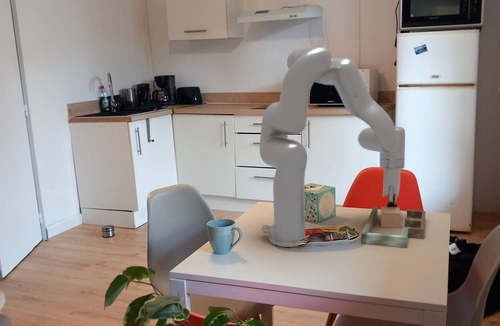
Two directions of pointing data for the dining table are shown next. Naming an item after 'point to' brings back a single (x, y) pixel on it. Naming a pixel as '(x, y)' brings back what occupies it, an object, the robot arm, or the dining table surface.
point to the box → (411, 230)
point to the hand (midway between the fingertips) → (391, 214)
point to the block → (390, 217)
